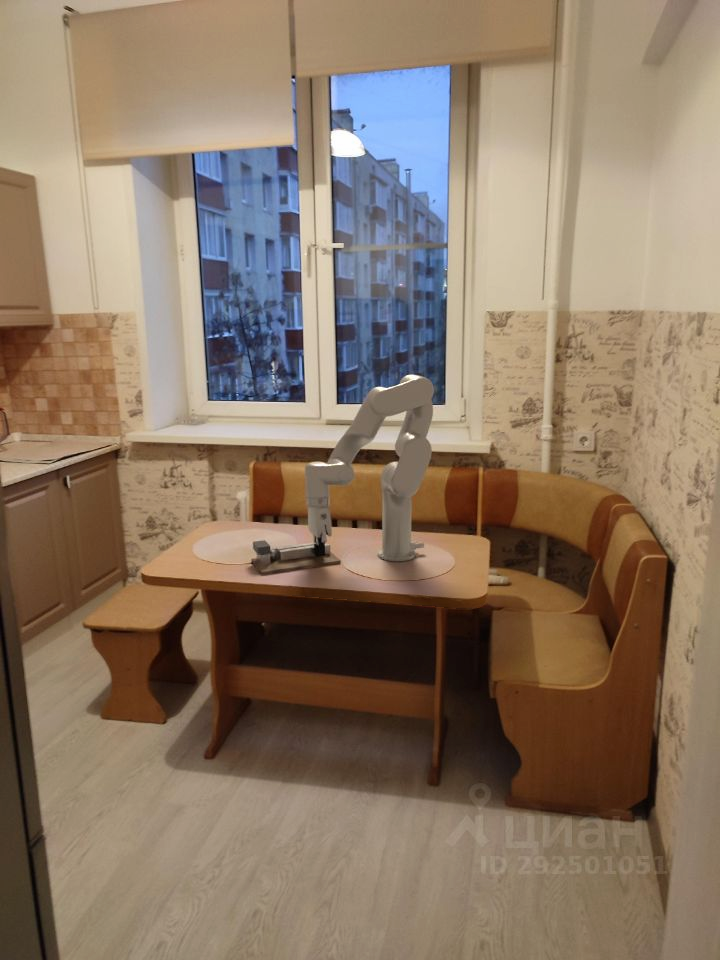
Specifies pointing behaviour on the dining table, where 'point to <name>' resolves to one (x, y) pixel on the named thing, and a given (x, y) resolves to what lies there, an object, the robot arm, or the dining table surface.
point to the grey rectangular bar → (296, 552)
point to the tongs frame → (265, 558)
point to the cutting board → (295, 563)
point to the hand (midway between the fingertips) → (319, 555)
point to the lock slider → (261, 547)
